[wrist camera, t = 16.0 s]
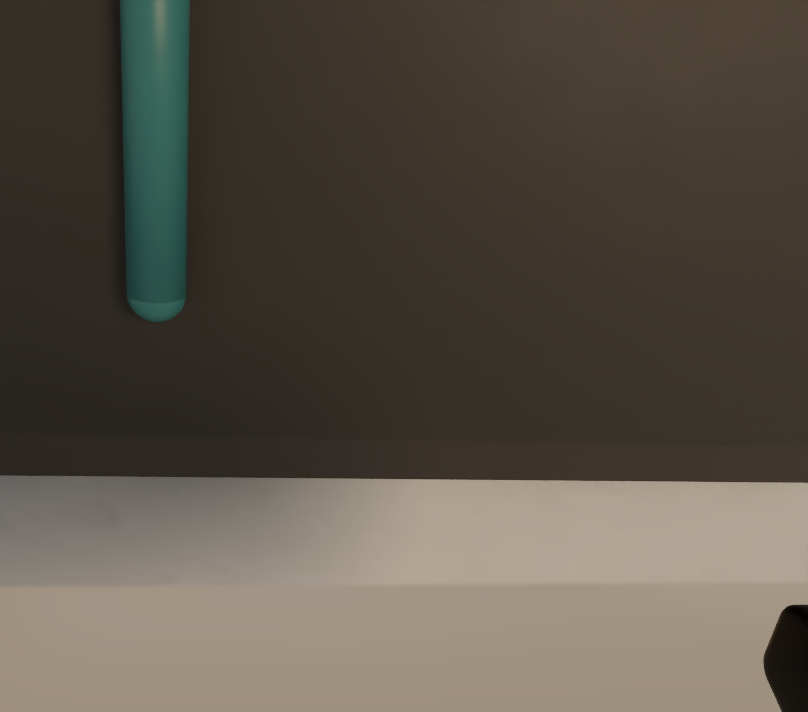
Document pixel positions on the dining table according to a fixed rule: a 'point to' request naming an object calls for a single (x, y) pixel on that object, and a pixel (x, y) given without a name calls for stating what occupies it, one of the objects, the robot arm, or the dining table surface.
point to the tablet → (418, 244)
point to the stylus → (155, 153)
